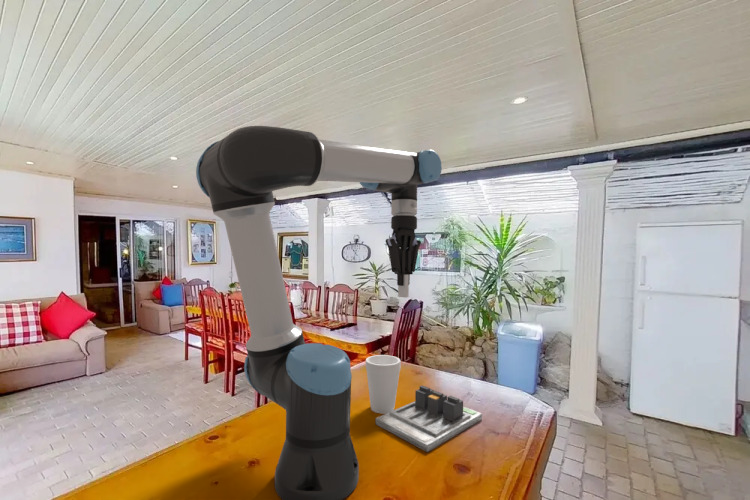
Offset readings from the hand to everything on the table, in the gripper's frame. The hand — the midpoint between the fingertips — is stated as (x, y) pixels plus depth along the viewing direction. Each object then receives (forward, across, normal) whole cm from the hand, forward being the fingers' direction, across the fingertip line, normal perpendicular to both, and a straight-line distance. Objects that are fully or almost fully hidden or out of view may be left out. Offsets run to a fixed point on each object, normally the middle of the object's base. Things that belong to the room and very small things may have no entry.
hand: (403, 296), depth 100 cm
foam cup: (+30, -8, -1) cm, 31 cm away
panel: (+29, -5, -14) cm, 33 cm away
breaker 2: (+28, -2, -14) cm, 31 cm away
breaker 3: (+28, -1, -19) cm, 33 cm away
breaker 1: (+28, -1, -10) cm, 29 cm away
